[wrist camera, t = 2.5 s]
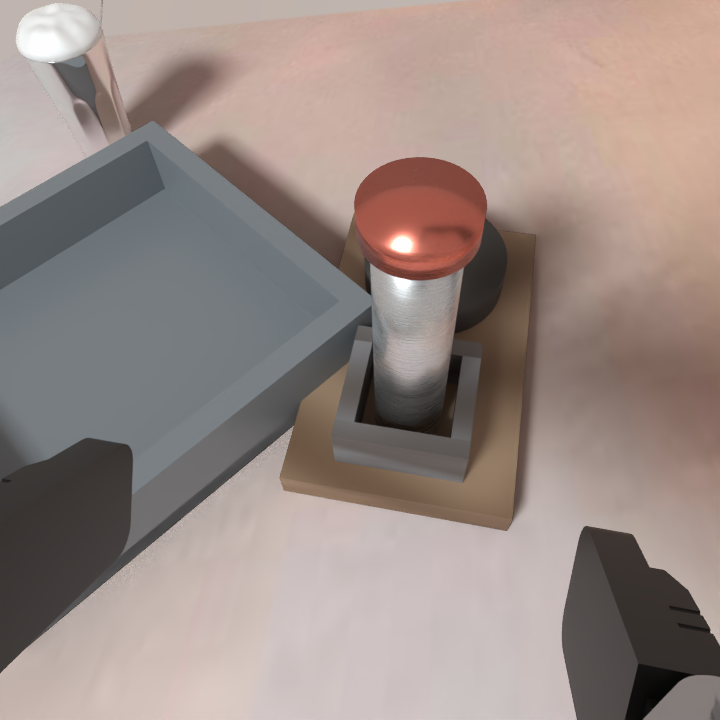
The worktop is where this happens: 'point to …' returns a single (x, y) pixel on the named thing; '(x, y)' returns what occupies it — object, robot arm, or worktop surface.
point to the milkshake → (75, 72)
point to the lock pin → (416, 280)
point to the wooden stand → (460, 410)
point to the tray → (160, 325)
